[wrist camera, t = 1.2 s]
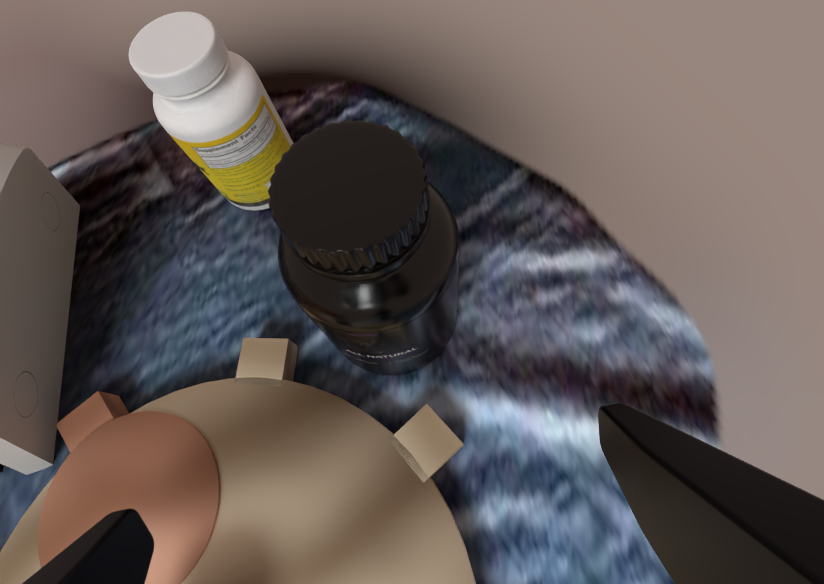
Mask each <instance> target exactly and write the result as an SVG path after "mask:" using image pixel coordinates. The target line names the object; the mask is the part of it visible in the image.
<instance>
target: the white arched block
mask: <svg viewBox="0 0 824 584" xmlns="http://www.w3.org/2000/svg"><path fill="white" fill-rule="evenodd" d="M79 211H80V205H79V204H78V203H77V202H76V201H75V199H74V198H73V197H72V196H71V195H70V194H69V193H68V191H67V190H66V189H65V188H64V187H63V186H62V185H61V183H60V182H59V181H58V180H57V179H56V178H55V176H54V175H53V174H52V173H51V172H50V171H49V170H48V168H47V167H46V166H45V165H44V164H43V163H42V162H41V160H40V159H39V158H38V157H37V156H36V155H35V154H34V153H33V151H32V150H31V149H29V148H25V147H20V146H15V145H9V144H3V143H0V472H3V468H4V466H6V467H8V468H11V469H13V470H16V471H19V472H21V473H23V474H26V475H28V474H31V473H34V472H36V471H39V470H42V469H45V468H47V467H49V466H51V465H53V460H54V450H55V441H56V431H57V426H56V424H57V422H58V412H59V403H60V393H61V383H62V374H63V364H64V355H65V345H66V336H67V326H68V316H69V307H70V297H71V288H72V278H73V268H74V259H75V249H76V240H77V230H78V221H79Z"/></svg>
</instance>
